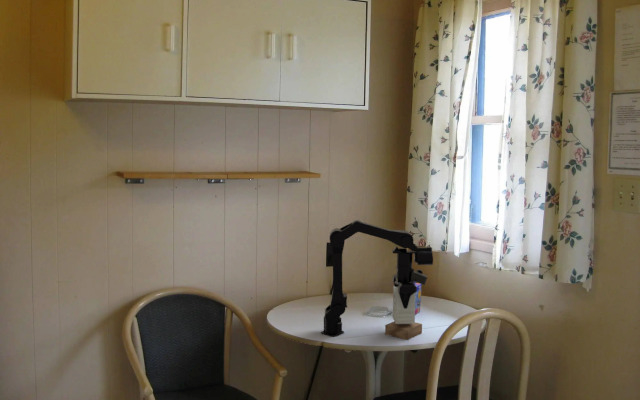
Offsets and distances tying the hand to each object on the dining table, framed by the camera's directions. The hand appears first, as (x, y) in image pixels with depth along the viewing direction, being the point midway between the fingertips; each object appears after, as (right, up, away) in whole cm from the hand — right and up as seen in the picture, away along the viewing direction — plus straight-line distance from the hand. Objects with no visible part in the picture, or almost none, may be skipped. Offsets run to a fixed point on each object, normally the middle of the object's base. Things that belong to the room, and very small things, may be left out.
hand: (403, 305), depth 234 cm
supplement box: (0, -6, +1) cm, 6 cm away
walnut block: (0, -11, +1) cm, 11 cm away
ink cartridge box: (+7, -8, +29) cm, 31 cm away
